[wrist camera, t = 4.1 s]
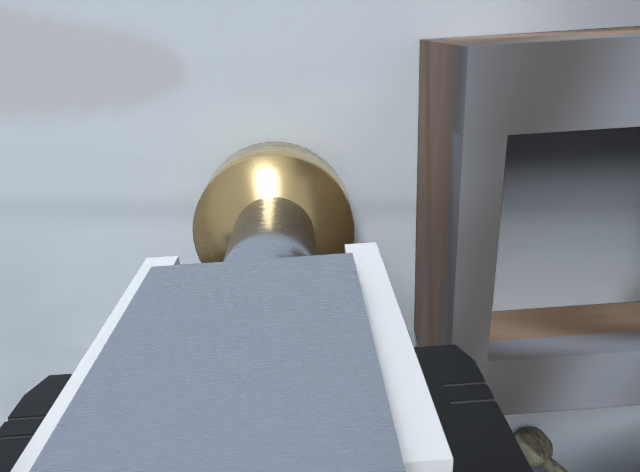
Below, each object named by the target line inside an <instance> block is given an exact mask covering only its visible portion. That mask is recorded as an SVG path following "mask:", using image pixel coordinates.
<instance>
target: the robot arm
mask: <svg viewBox="0 0 640 472" xmlns="http://www.w3.org/2000/svg"><path fill="white" fill-rule="evenodd" d="M345 253H353V256H354V260H355V265H356V269H357V273H358V277H359V281H360V285H361V289H362V294H363V298H364V302H365V306H366V310H367V314H368V318H369V322H370V327H371V331H372V335H373V339H374V343H375V347H376V351H377V356H378V360H379V364H380V368H381V372H382V376H383V380H384V384H385V389H386V393H387V397H388V401H389V405H390V409H391V413H392V418H393V422H394V426H395V430H396V434H397V438H398V442H399V447H400V451H401V455H402V459H403V463H404V467H405V471H406V472H533V470H532V469H531V467H530V465H529V463H528V461H527V459H526V457H525V455H524V453H523V451H522V449H521V448H520V446H519V444H518V442H517V440H516V438H515V436H514V434H513V432H512V430H511V429H510V427H509V425H508V423H507V421H506V419H505V417H504V415H503V413H502V411H501V409H500V408H499V406H498V404H497V402H495V401H494V396H493V394H492V392H491V390H490V389H489V387H488V385H486V383H485V379H484V377H483V375H482V373H481V371H480V369H479V368H478V366H477V364H476V362H475V360H474V359H472V358H471V357H470V356H469V355H467V354H466V353H465V352H464V351H463V350H461V349H460V348H459V347H458V346H456V345H455V344H453V345H439V346H425V347H413V345H412V342H411V339H410V336H409V333H408V331H407V328H406V325H405V322H404V320H403V317H402V314H401V311H400V308H399V306H398V303H397V300H396V297H395V294H394V292H393V289H392V286H391V283H390V280H389V278H388V275H387V272H386V269H385V266H384V264H383V261H382V258H381V255H380V252H379V250H378V247H377V244H376V242H373V243H358V244H345ZM168 265H180V262H179V257H178V256H169V257H154V258H146V260H145V261H144V263H143V264H142V266H141V268H140V269H139V271H138V272H137V274H136V275H135V277H134V279H133V280H132V282H131V283H130V285H129V286H128V288H127V290H126V291H125V293H124V294H123V296H122V297H121V299H120V301H119V302H118V304H117V305H116V307H115V308H114V310H113V312H112V313H111V315H110V316H109V318H108V319H107V321H106V323H105V324H104V326H103V327H102V329H101V330H100V332H99V333H98V335H97V337H96V338H95V340H94V341H93V343H92V344H91V346H90V348H89V349H88V351H87V352H86V354H85V355H84V357H83V359H82V360H81V362H80V363H79V365H78V366H77V368H76V370H75V371H74V373H73V374H63V375H49V376H48V377H47V378H45V379H44V380H43V381H42V382H40V383H39V384H38V385H37V386H35V387H34V388H33V389H31V390H30V391H29V392H28V393H26V394H25V395H24V396H23V398H22V399H21V400H20V402H19V403H18V404H17V406H16V407H15V409H14V410H13V411H12V413H11V414H10V415H9V417H8V422H4V424H3V425H2V426H1V428H0V472H29V471H30V469H31V467H32V466H33V464H34V462H35V461H36V459H37V457H38V456H39V454H40V452H41V451H42V449H43V447H44V445H45V444H46V442H47V440H48V439H49V437H50V435H51V434H52V432H53V430H54V429H55V427H56V425H57V424H58V422H59V420H60V419H61V417H62V415H63V414H64V412H65V410H66V409H67V407H68V405H69V404H70V402H71V400H72V399H73V397H74V395H75V394H76V392H77V390H78V389H79V387H80V385H81V384H82V382H83V380H84V378H85V377H86V375H87V373H88V372H89V370H90V368H91V367H92V365H93V363H94V362H95V360H96V358H97V357H98V355H99V353H100V352H101V350H102V348H103V347H104V345H105V343H106V342H107V340H108V338H109V337H110V335H111V333H112V332H113V330H114V328H115V327H116V325H117V323H118V322H119V320H120V318H121V317H122V315H123V313H124V311H125V310H126V308H127V306H128V305H129V303H130V301H131V300H132V298H133V296H134V295H135V293H136V291H137V290H138V288H139V286H140V285H141V283H142V281H143V280H144V278H145V276H146V275H147V273H148V271H149V270H150V268H151V267H154V266H168Z"/></svg>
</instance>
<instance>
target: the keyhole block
mask: <svg viewBox="0 0 640 472" xmlns="http://www.w3.org/2000/svg"><path fill="white" fill-rule="evenodd" d="M625 127H640V26H633V27H617V28H601V29H584V30H568V31H552V32H536V33H520V34H504V35H487V36H471V37H455V38H439V39H423V40H420V68H419V117H418V166H417V215H416V264H415V313H414V331H415V333H416V336H417V339H418V341H419V344H420V347H425V346H439V345H453V344H455V345H456V346H458V347H459V348H460V349H461V350H463V351H464V352H465V353H466V354H467V355H469V356H470V357H471V358H472V359H474V360H475V362H476V364H477V366H478V368H479V369H480V371H481V373H482V375H483V377H484V379H485V383H486V385H488V387H489V389H490V390H491V392H492V394H493V396H494V401H495V402H497V404H498V406H499V408H500V409H501V411H502V413H503V415H508V414H521V413H535V412H549V411H563V410H577V409H591V408H604V407H618V406H632V405H640V301H638V302H624V303H609V304H595V305H580V306H566V307H552V308H537V309H523V310H508V311H494V312H492V303H493V292H494V281H495V270H496V259H497V248H498V237H499V226H500V215H501V204H502V193H503V182H504V171H505V160H506V149H507V137H508V135H516V134H532V133H547V132H563V131H578V130H594V129H609V128H625Z"/></svg>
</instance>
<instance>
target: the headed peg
mask: <svg viewBox="0 0 640 472" xmlns="http://www.w3.org/2000/svg"><path fill="white" fill-rule="evenodd" d="M193 239H194V244H195V248H196V252H197V254H198V257H199V259H200V261H201V263H197V264H183V265H168V266H154V267H151V268H150V270H149V271H148V273H147V275H146V276H145V278H144V280H143V281H142V283H141V285H140V286H139V288H138V290H137V291H136V293H135V295H134V296H133V298H132V300H131V301H130V303H129V305H128V306H127V308H126V310H125V311H124V313H123V315H122V317H121V318H120V320H119V322H118V323H117V325H116V327H115V328H114V330H113V332H112V333H111V335H110V337H109V338H108V340H107V342H106V343H105V345H104V347H103V348H102V350H101V352H100V353H99V355H98V357H97V358H96V360H95V362H94V363H93V365H92V367H91V368H90V370H89V372H88V373H87V375H86V377H85V378H84V380H83V382H82V384H81V385H80V387H79V389H78V390H77V392H76V394H75V395H74V397H73V399H72V400H71V402H70V404H69V405H68V407H67V409H66V410H65V412H64V414H63V415H62V417H61V419H60V420H59V422H58V424H57V425H56V427H55V429H54V430H53V432H52V434H51V435H50V437H49V439H48V440H47V442H46V444H45V445H44V447H43V449H42V451H41V452H40V454H39V456H38V457H37V459H36V461H35V462H34V464H33V466H32V467H31V469H30V471H29V472H406V471H405V467H404V463H403V459H402V455H401V451H400V447H399V442H398V438H397V434H396V430H395V426H394V422H393V418H392V413H391V409H390V405H389V401H388V397H387V393H386V389H385V384H384V380H383V376H382V372H381V368H380V364H379V360H378V356H377V351H376V347H375V343H374V339H373V335H372V331H371V327H370V322H369V318H368V314H367V310H366V306H365V302H364V298H363V294H362V289H361V285H360V281H359V277H358V273H357V269H356V265H355V260H354V256H353V253H345V244H353V241H354V223H353V217H352V213H351V209H350V206H349V202H348V199H347V195H346V192H345V189H344V187H343V184H342V182H341V180H340V179H339V177H338V175H337V174H336V172H335V171H334V170H333V168H332V167H331V166H330V165H329V164H328V163H327V162H326V161H325V160H324V159H322V158H321V157H320V156H318V155H317V154H315V153H313V152H312V151H310V150H308V149H306V148H303V147H301V146H298V145H294V144H290V143H283V142H266V143H259V144H255V145H251V146H248V147H246V148H244V149H241V150H239V151H238V152H236V153H234V154H233V155H231V156H230V157H229V158H228V159H226V160H225V161H224V162H223V163H222V164H221V165H220V166H219V167H218V169H217V170H216V171H215V173H214V174H213V176H212V178H211V179H210V181H209V183H208V185H207V187H206V188H205V190H204V192H203V194H202V196H201V198H200V200H199V202H198V204H197V207H196V210H195V214H194V219H193Z"/></svg>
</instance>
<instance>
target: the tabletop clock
mask: <svg viewBox="0 0 640 472" xmlns="http://www.w3.org/2000/svg"><path fill="white" fill-rule="evenodd" d="M515 438H516V440H517V442H518V444H519V446H520V448H521V449H522V451H523V453H524V455H525V457H526V459H527V461H528V463H529V465H530V467H539V466H543V467H544V468H545V469H546V470H547V472H568V471H566V470H565V469H564V468H563V467H562V466H561V465H559V464H558V463H557V462H556V461H555V460H553V459H552V458H551V457H552V452H553V448H552V443H551V441H550V439H549V438H548V437H547V436H546V435H545V434H544V433H543V432H542V431H541V430H539V429H537V428H532V427H529V428H523V429H521V430H519V431H518V432H517V433H516V434H515Z"/></svg>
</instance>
